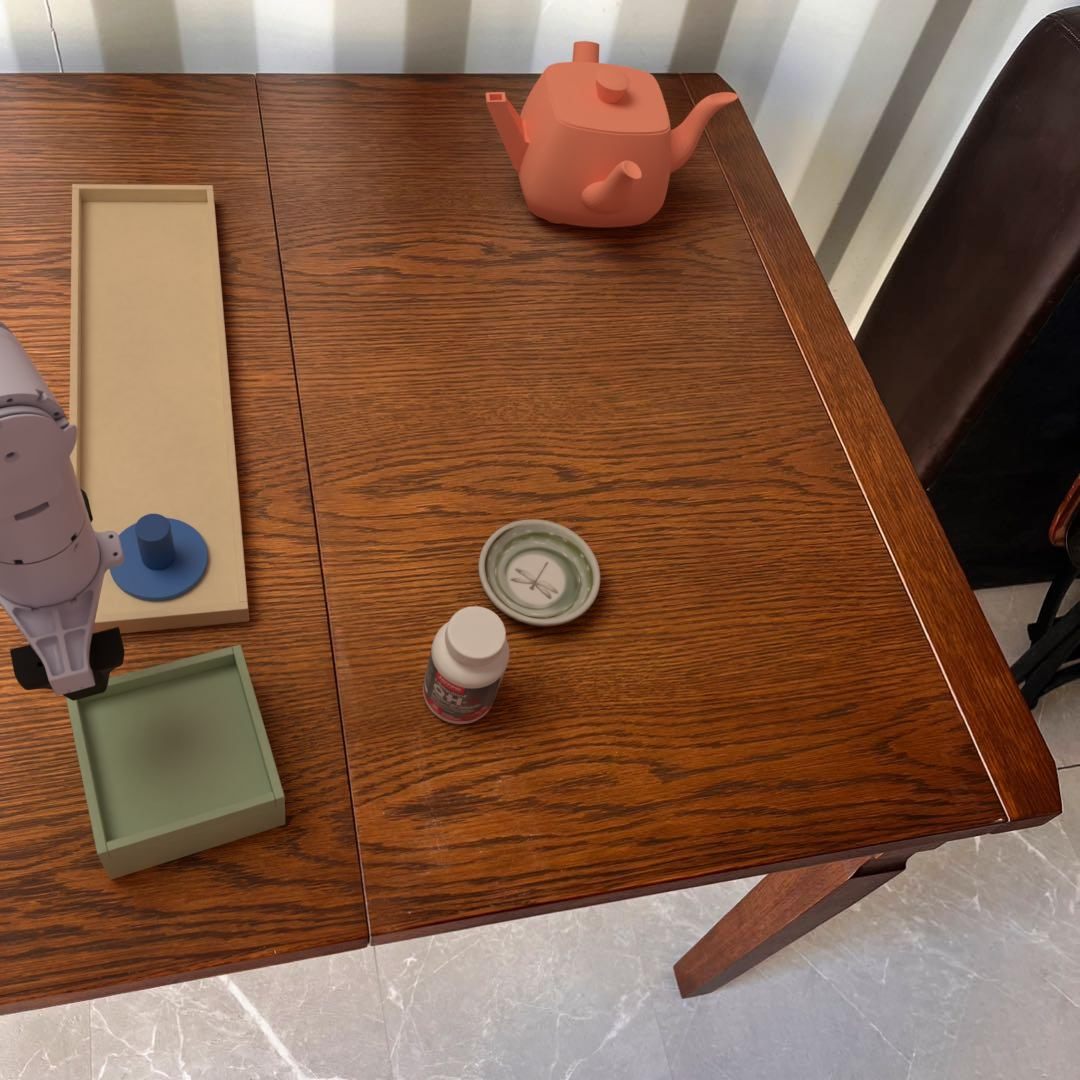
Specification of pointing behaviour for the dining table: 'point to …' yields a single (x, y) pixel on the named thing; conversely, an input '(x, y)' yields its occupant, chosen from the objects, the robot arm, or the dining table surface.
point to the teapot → (597, 141)
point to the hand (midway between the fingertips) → (75, 637)
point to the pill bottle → (466, 665)
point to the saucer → (539, 572)
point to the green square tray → (175, 761)
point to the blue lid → (160, 559)
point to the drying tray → (154, 388)
